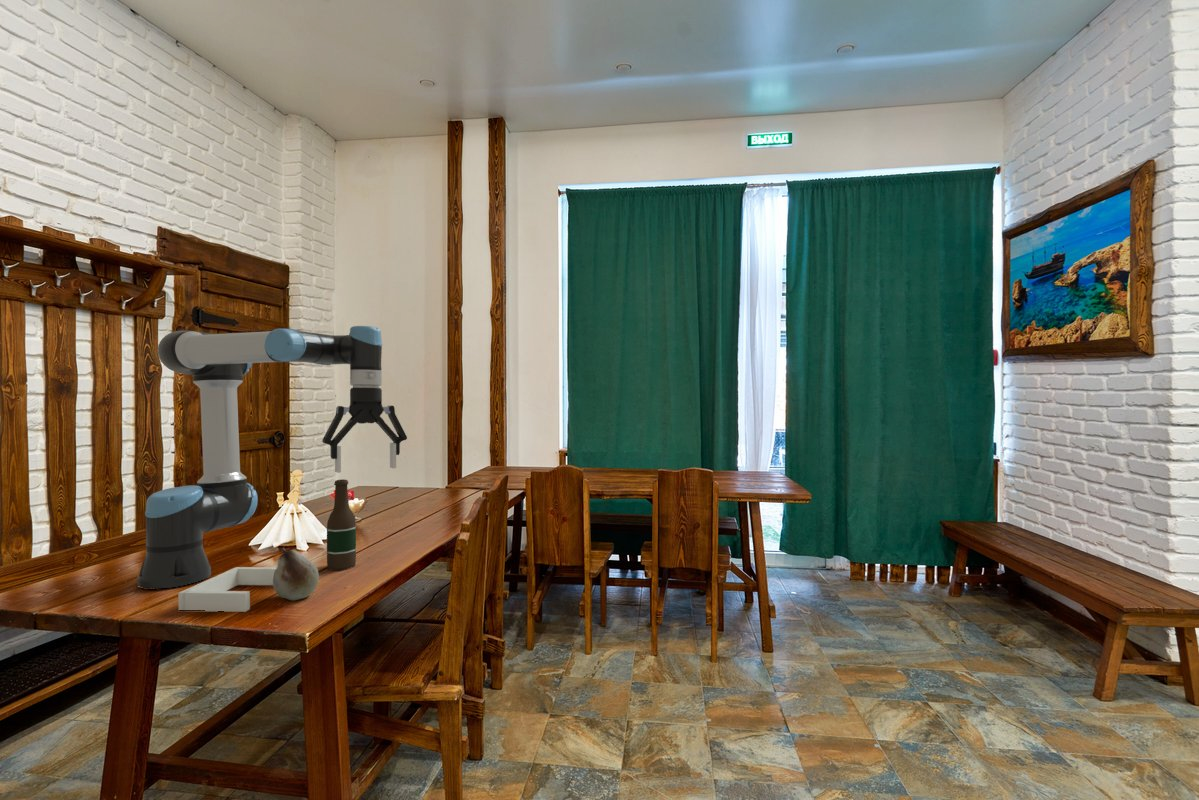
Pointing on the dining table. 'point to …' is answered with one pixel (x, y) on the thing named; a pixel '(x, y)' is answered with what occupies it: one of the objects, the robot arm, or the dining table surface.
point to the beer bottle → (341, 531)
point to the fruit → (295, 576)
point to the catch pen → (225, 590)
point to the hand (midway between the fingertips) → (366, 470)
